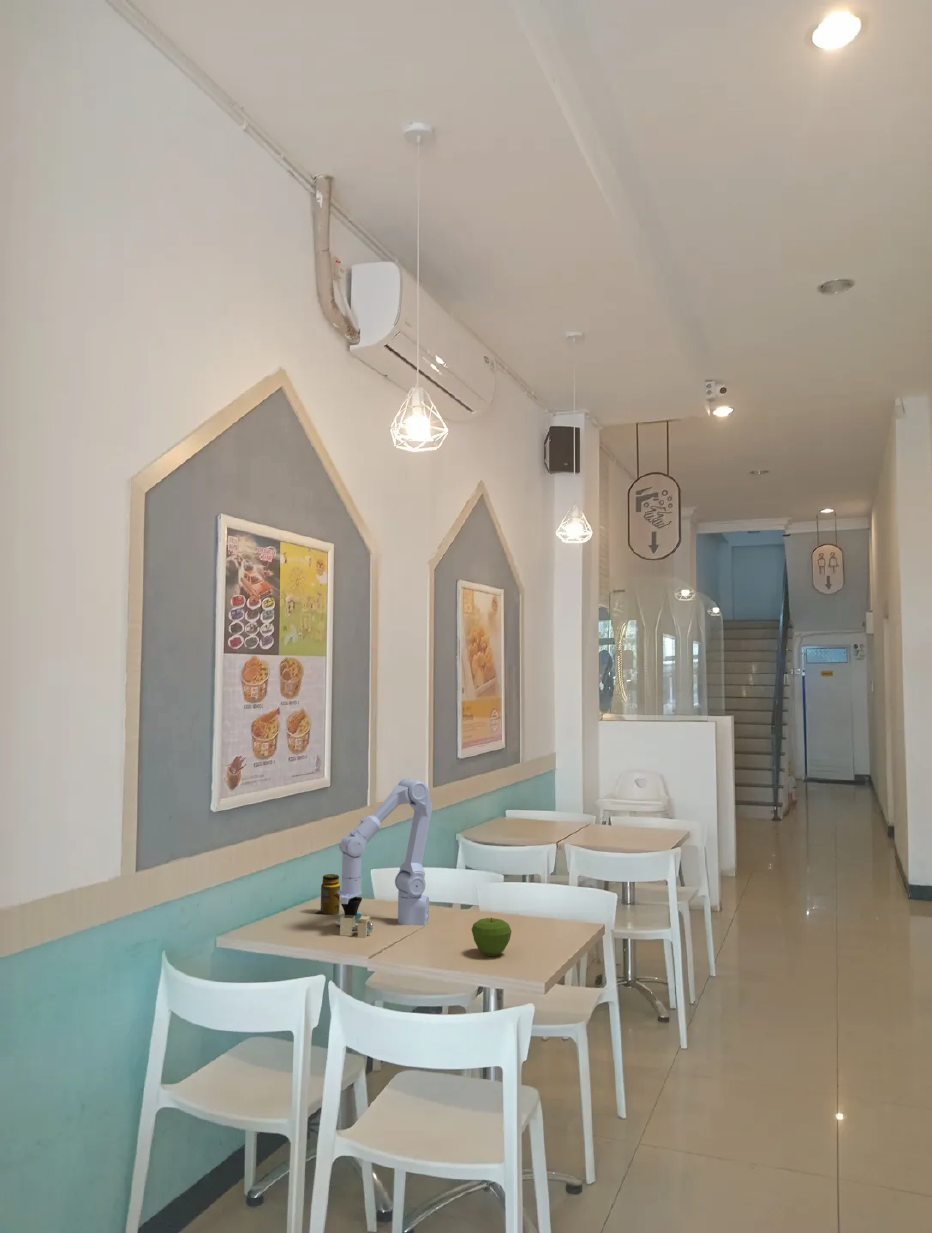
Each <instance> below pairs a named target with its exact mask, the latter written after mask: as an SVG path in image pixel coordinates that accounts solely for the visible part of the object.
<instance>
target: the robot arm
mask: <svg viewBox="0 0 932 1233" xmlns="http://www.w3.org/2000/svg"><path fill="white" fill-rule="evenodd" d="M430 792H431V790H430V788H429V787H428V786H427V784H426V783H425V782H424V781H422V780H415V779H411V778H406V777H405V778H403V779H401V780H400V781H399V782H398V784H396V785H395V786H394V787H393V788H392V790H391V792H390V793H389V795H388V796H387V797H386V799H384V801H383V802H382V804H380V806H379V807H378V808H377V809H376V810H375V812H374V813H373V814H372V815H366V816H365V817H362V818H361V819H360V822H359V824H357V826H356V827H355V828H354V829H352V830H351V831H349V834H348V835H345V836H344V837H343V838H342V839H341V841H340V844H338V849H339V850H340V852H341V854H342V858H341V859H342V860H341V861H342V862H341V889H340V891H338V894H340V905H341V907H342V909H343V913H344V915H355V920H356V915H357V912H358V911H359V907H360V905H361V902H362V900H363V897H361V895H362V854H364V853H365V851H366V845H367V844H368V843H369V842H370V841H371V840H372V839H373V837H375V835H376V834H377V833H378V832H379V831H380V830H381V823H382V822H383V821H384V820H385V819H386V818H387V817H389V815H391V813H392V812H393V811H394V810H396V809H397V807H398V806H400V805H406V804H409V805H410V807H411V808H412V809H413V818H412V822H411V828H410V833H409V837H408V838H409V839H408V843H407V848H406V855H405V860H404V861H403V863H402V864H401V865H400V867H399V870H398V873H397V874H396V876H395V879H394V886H395V888H396V889H397V890H398V892H397V896H398V897H397V898H398V899H397V923H398V924H399V925H401V926H402V925H404V926H426V925H427V924H428V923H429V921H430V897H429V896H427V895H423V893H424V892H425V890H426V880H425V877H426V876H425V875H426V872H425V868H424V867H423V861H424V856H425V850H426V845H427V839H428V835H429V829H430V823H431V819H432V814H433V804H432V799H431V796H430Z"/></svg>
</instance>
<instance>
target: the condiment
mask: <svg viewBox="0 0 932 1233" xmlns="http://www.w3.org/2000/svg"><path fill="white" fill-rule="evenodd" d="M320 887H321V888H320V910H318V911H313V912H312V911H311V915H320V916H321V915H322V916H340V915H345V913H344V911H343V912H342V911H340V905H341V903H340V900H341V894H338V891H340V890H341V884H340V876H339V875H338V874H332V873H331V874H324V875H323V876H322V884H321V886H320Z"/></svg>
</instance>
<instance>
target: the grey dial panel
mask: <svg viewBox="0 0 932 1233" xmlns="http://www.w3.org/2000/svg"><path fill="white" fill-rule="evenodd" d="M371 916H372V915H362V917H361V918H359V919H358V923H357V927H358V932H357V938H362V939H363V938H367V937H368V936H367V935H370V934H371V932H367V928H369V923H372V922H371V921H372V920H371V918H372V917H371ZM338 926H339V927H340V925H338Z"/></svg>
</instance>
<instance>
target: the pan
mask: <svg viewBox="0 0 932 1233" xmlns="http://www.w3.org/2000/svg"><path fill="white" fill-rule="evenodd" d="M343 915H344V914H340V915H337V916H338V917H337V918H338V919H335V920H334V924H335V925H338V926H339V925H340V918H341V917H342V916H343ZM362 916H363V912H358V911H357V915H356V920H355V924H358V919H359V918H361V917H362Z"/></svg>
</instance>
